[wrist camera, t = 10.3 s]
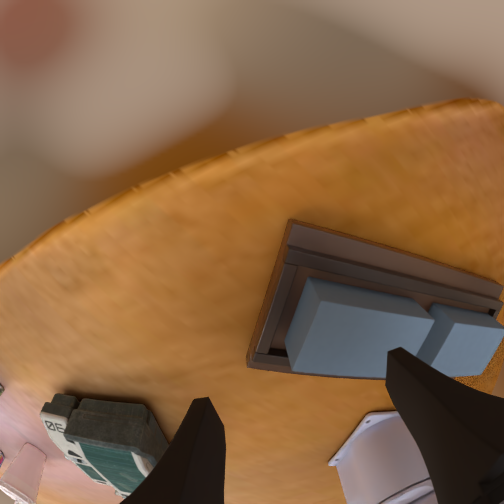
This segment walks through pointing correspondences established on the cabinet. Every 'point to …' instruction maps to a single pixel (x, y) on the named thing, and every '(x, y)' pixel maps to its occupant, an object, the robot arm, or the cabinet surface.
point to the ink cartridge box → (1, 458)
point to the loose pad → (352, 329)
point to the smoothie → (24, 475)
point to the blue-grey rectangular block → (460, 340)
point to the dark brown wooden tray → (359, 275)
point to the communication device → (106, 439)
